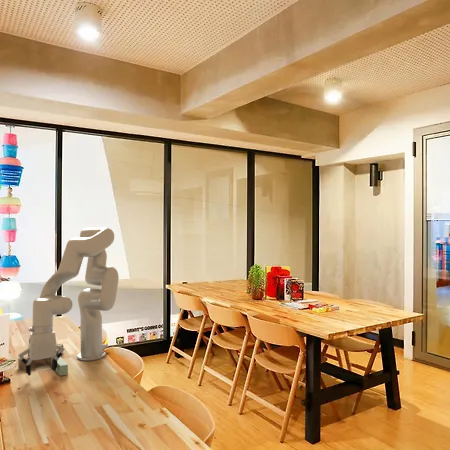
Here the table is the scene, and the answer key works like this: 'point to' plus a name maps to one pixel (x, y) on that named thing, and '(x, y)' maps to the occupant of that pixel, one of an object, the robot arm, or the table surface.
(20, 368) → the brown angled wooden piece
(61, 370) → the hinged leg
